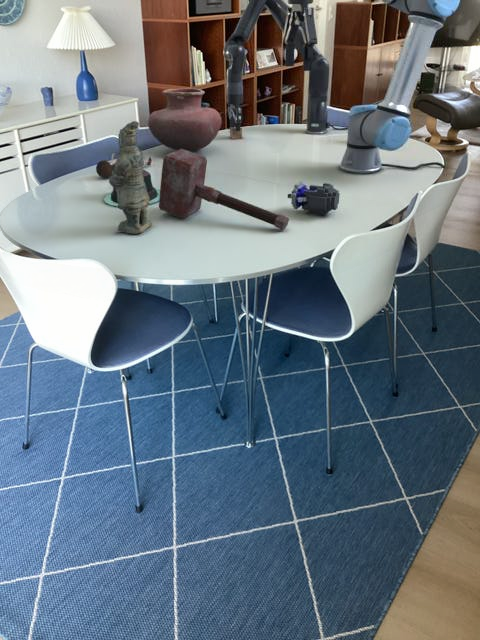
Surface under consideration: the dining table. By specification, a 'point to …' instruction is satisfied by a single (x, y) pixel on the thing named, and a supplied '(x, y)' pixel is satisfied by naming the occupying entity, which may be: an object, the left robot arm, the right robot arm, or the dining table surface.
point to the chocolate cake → (152, 192)
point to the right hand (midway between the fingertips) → (298, 68)
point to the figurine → (110, 167)
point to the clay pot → (185, 121)
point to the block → (235, 133)
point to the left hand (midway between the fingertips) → (235, 129)
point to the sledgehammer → (200, 190)
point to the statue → (131, 182)
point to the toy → (315, 198)
